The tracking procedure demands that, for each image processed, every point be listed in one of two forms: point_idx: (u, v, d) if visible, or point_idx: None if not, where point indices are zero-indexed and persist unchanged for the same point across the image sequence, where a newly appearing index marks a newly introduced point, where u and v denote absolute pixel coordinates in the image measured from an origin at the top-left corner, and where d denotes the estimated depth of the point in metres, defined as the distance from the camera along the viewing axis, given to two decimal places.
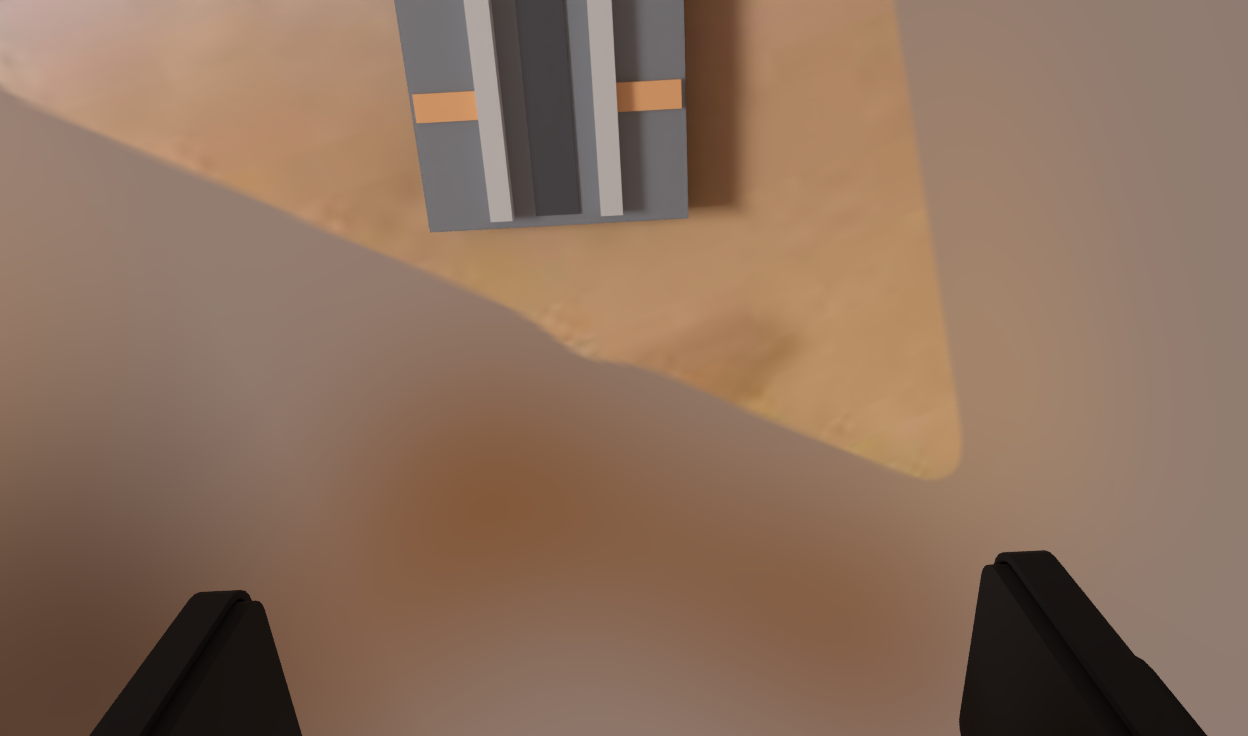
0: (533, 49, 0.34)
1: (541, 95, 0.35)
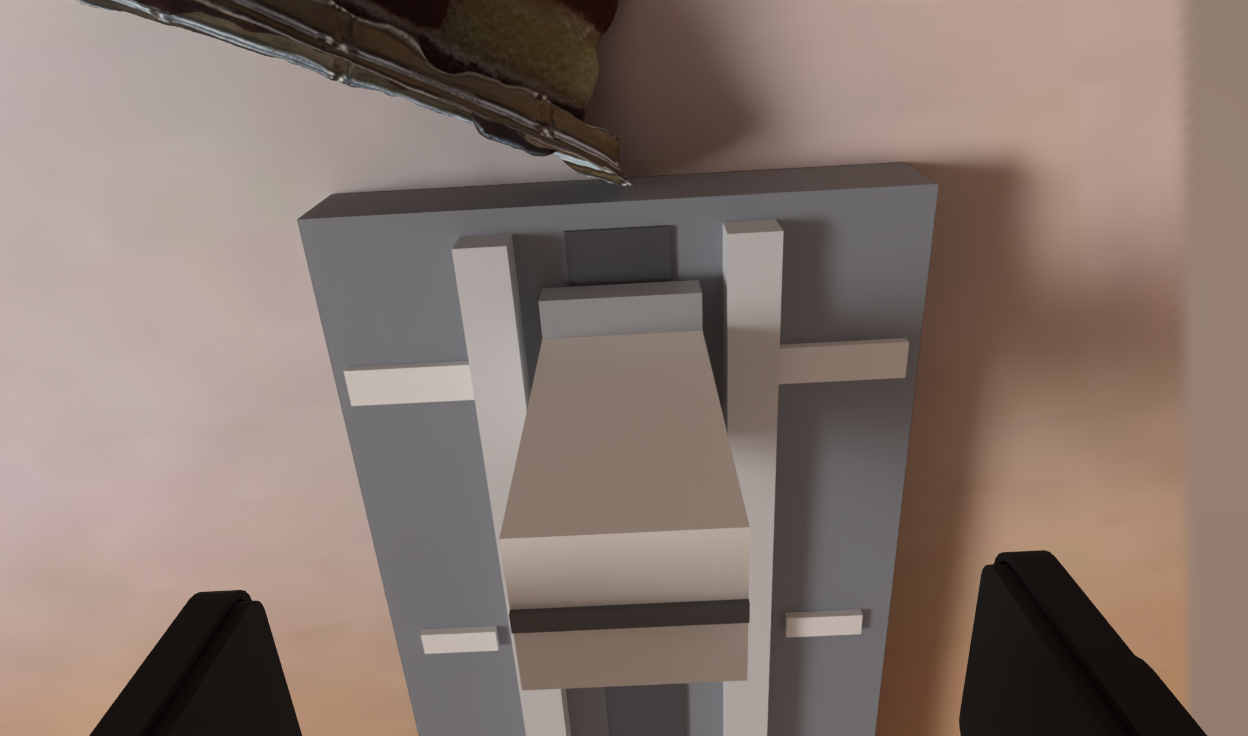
0: None
1: None
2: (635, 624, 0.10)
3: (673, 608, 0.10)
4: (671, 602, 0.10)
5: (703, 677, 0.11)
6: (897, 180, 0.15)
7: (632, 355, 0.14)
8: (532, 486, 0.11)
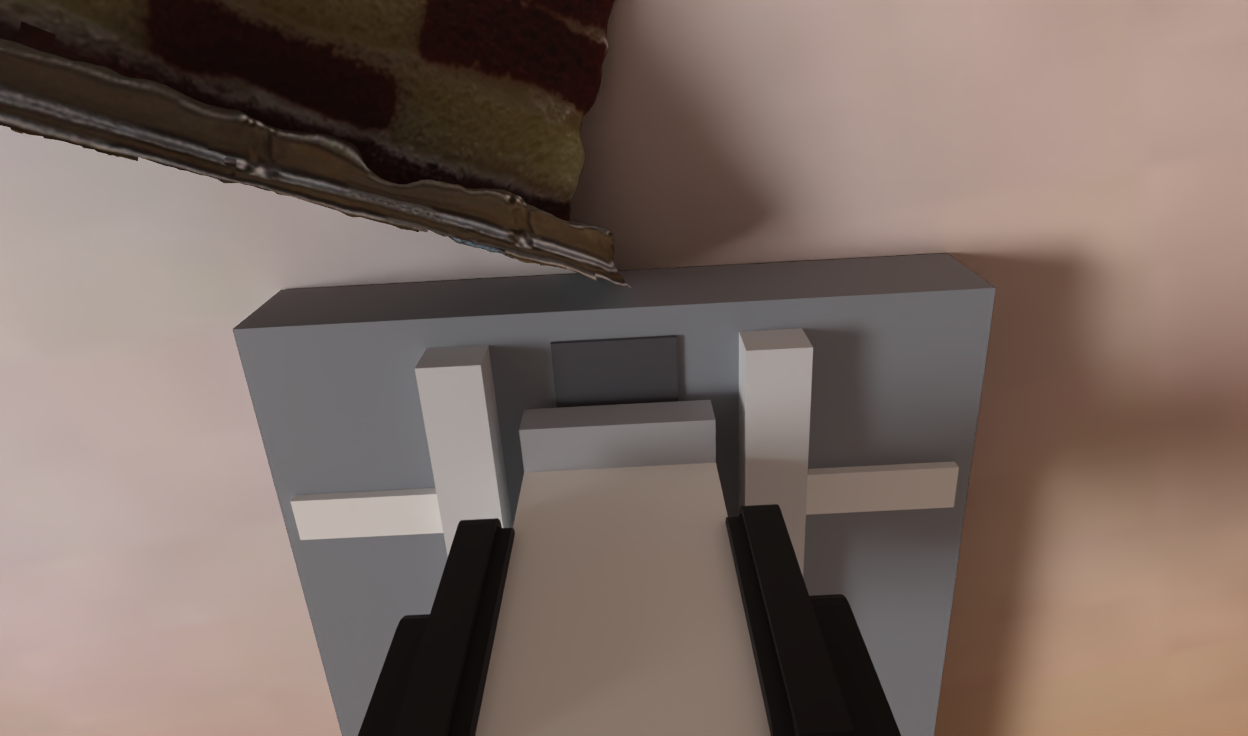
0: None
1: None
2: None
3: None
4: None
5: None
6: (945, 281, 0.13)
7: (632, 500, 0.12)
8: (500, 726, 0.08)
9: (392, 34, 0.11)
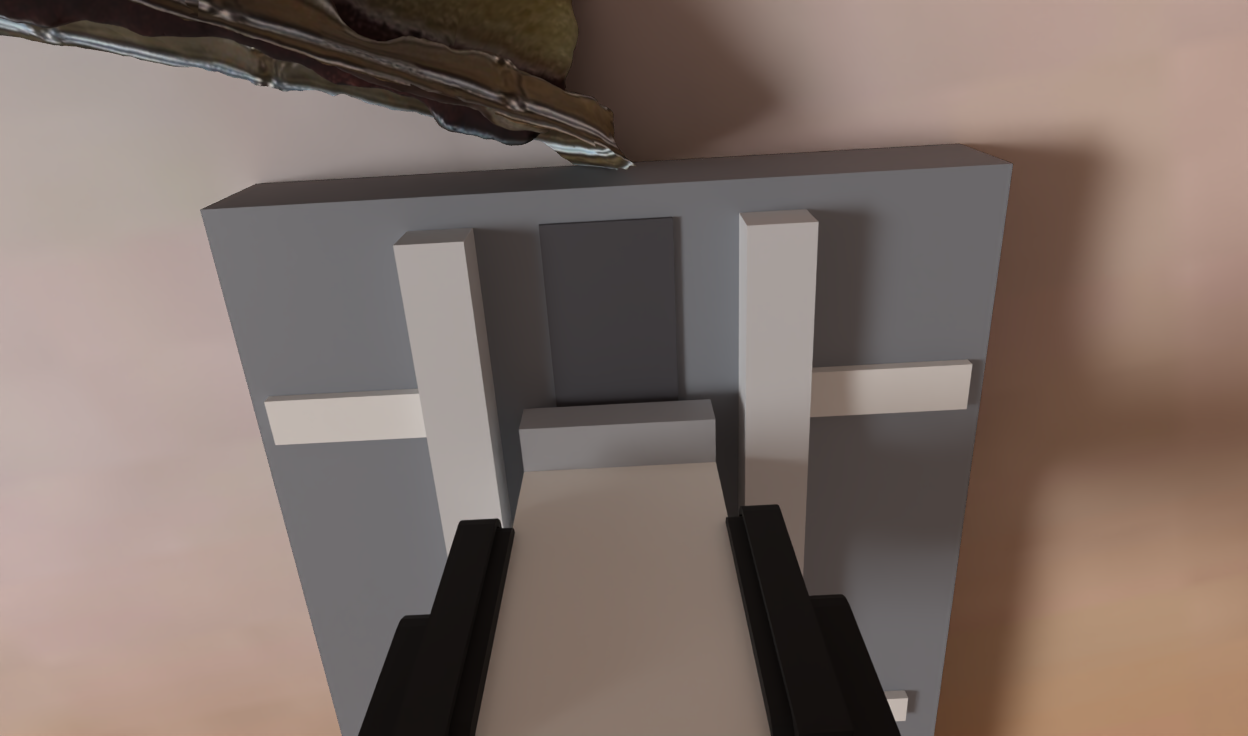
0: None
1: None
2: None
3: None
4: None
5: None
6: (958, 160, 0.12)
7: (631, 500, 0.12)
8: (500, 727, 0.08)
9: None
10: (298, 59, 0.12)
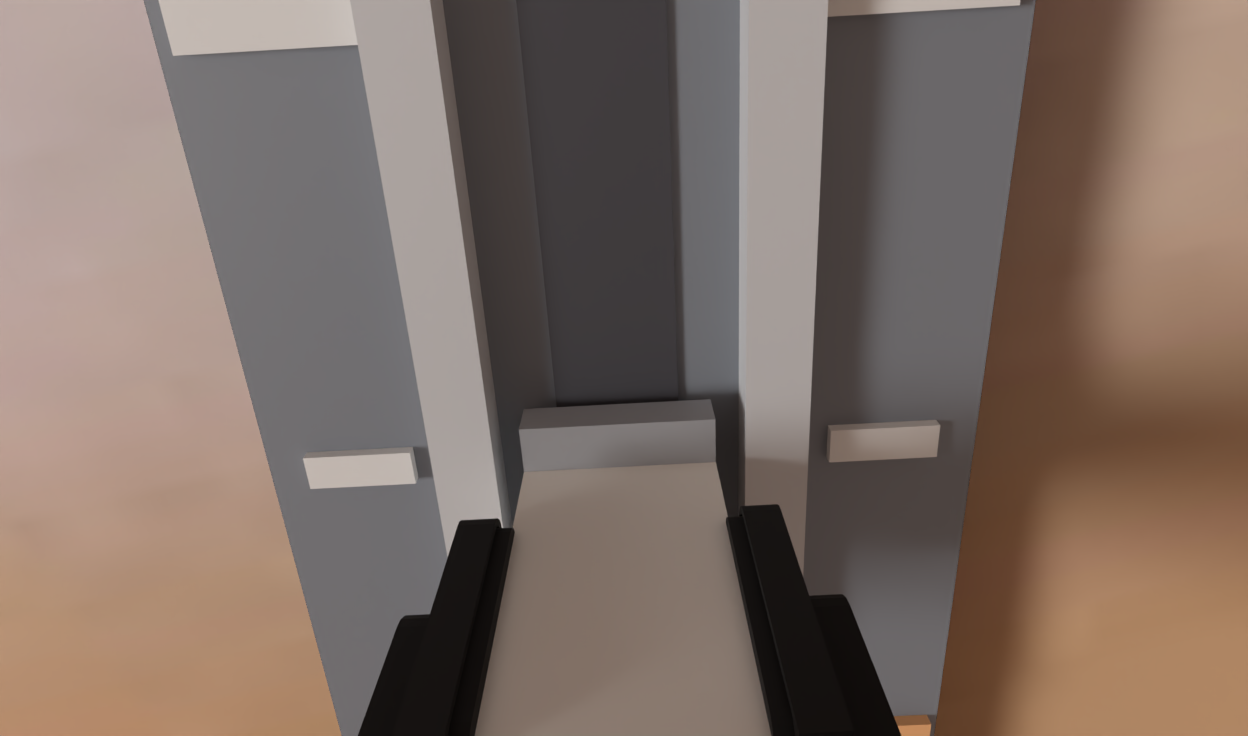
0: None
1: None
2: None
3: None
4: None
5: None
6: None
7: (631, 500, 0.12)
8: (500, 726, 0.08)
9: None
10: None
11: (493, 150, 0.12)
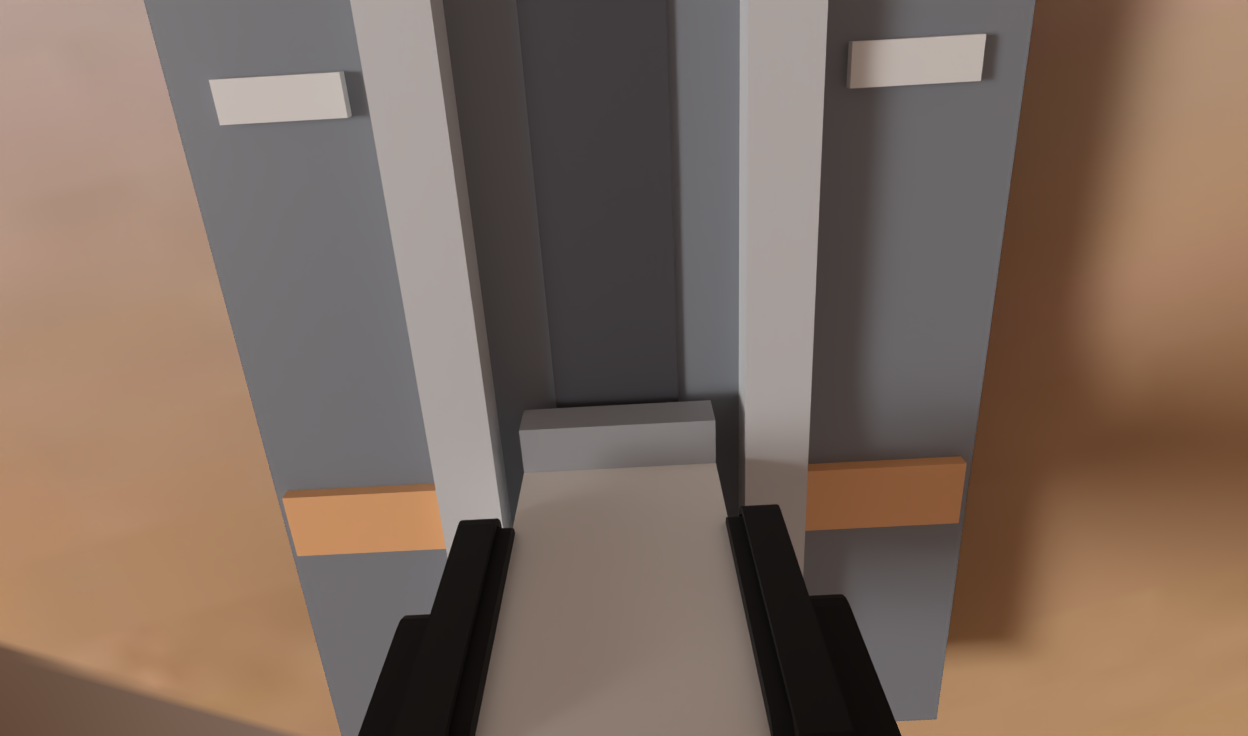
0: (591, 397, 0.13)
1: None
2: None
3: None
4: None
5: None
6: None
7: (632, 501, 0.12)
8: (501, 727, 0.08)
9: None
10: None
11: None
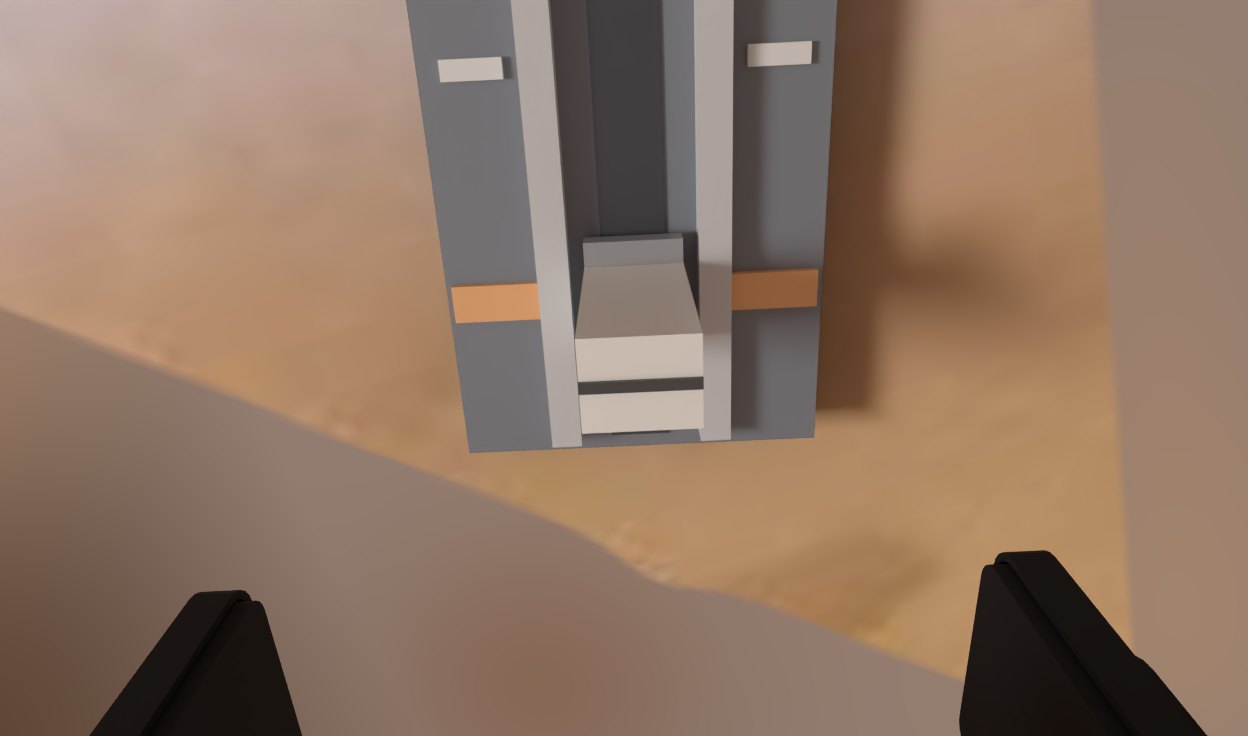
0: (618, 231, 0.25)
1: None
2: (643, 391, 0.19)
3: (663, 380, 0.19)
4: (663, 378, 0.19)
5: (680, 427, 0.20)
6: None
7: (640, 273, 0.23)
8: (588, 322, 0.20)
9: None
10: None
11: None
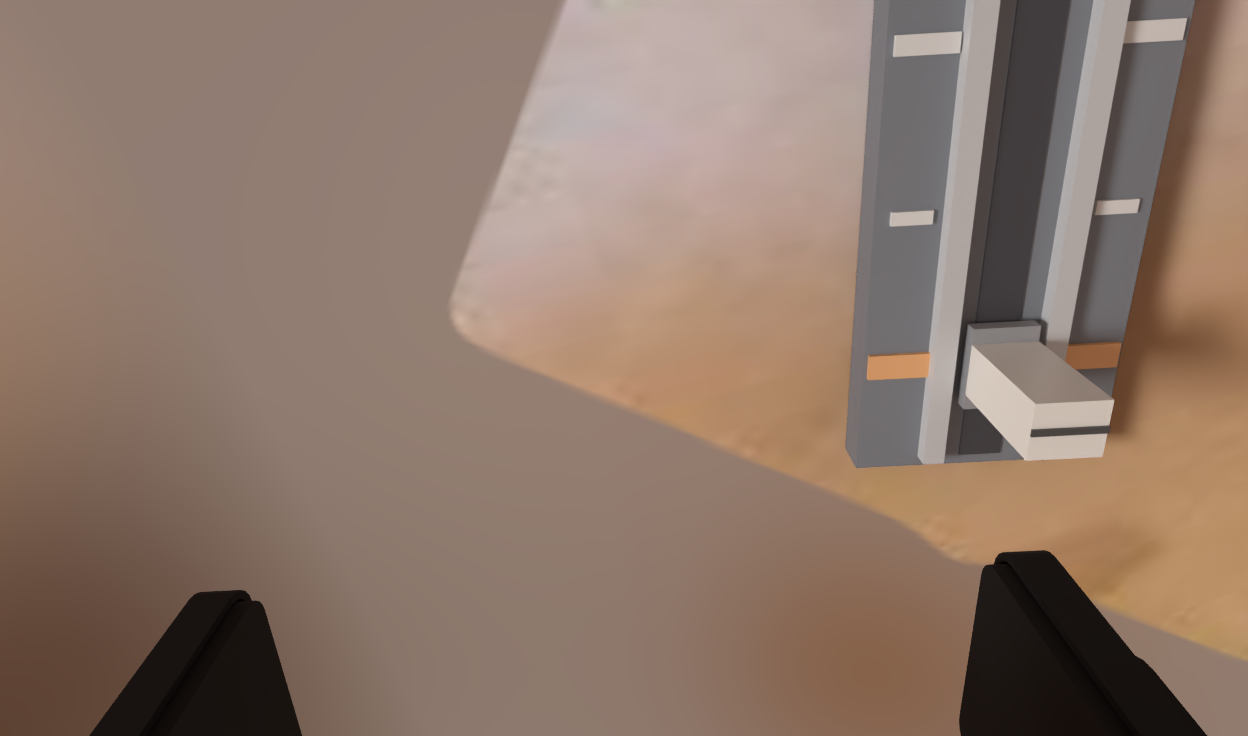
0: (989, 318, 0.37)
1: None
2: (1071, 434, 0.31)
3: (1085, 428, 0.31)
4: (1084, 426, 0.31)
5: (1086, 456, 0.32)
6: None
7: (1018, 351, 0.35)
8: (1029, 391, 0.32)
9: None
10: None
11: (992, 90, 0.33)
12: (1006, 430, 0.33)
